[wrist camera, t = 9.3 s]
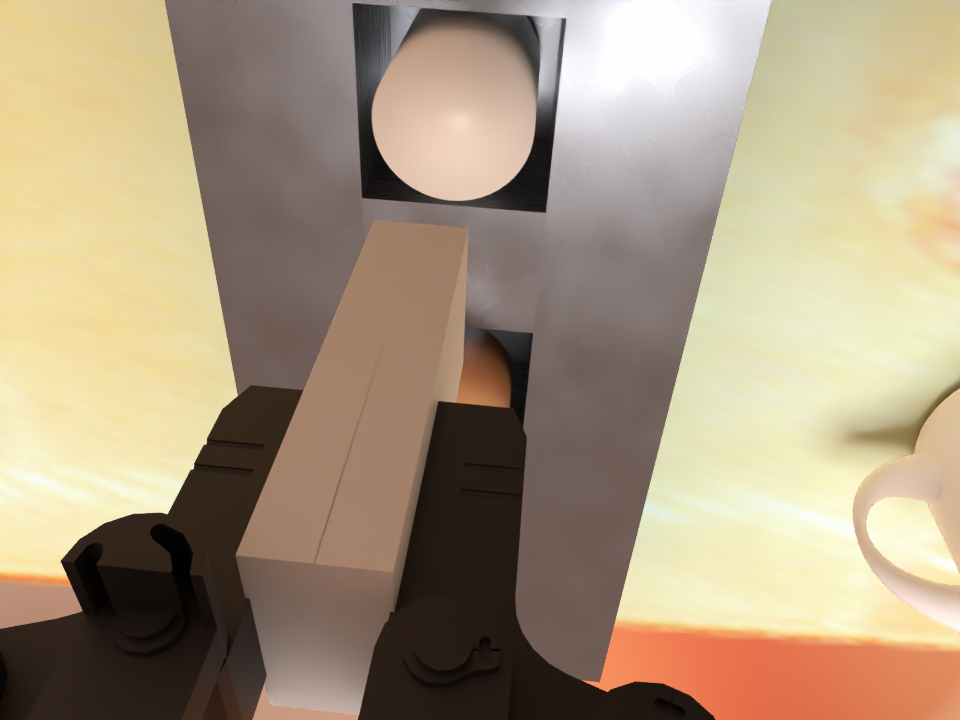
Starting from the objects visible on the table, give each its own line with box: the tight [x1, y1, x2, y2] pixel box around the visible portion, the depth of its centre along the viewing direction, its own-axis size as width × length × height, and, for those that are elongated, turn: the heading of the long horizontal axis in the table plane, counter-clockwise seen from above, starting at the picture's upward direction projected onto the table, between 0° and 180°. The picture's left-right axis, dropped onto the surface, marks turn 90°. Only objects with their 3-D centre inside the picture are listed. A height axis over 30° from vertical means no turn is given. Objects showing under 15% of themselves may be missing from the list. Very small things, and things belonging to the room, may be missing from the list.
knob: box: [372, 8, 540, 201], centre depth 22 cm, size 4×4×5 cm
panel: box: [165, 0, 772, 682], centre depth 28 cm, size 32×14×6 cm, turn 178°
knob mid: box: [456, 327, 513, 408], centre depth 25 cm, size 4×4×5 cm
